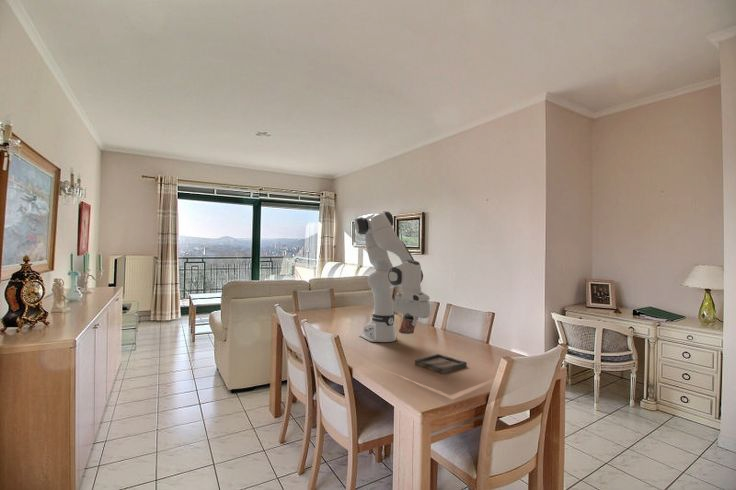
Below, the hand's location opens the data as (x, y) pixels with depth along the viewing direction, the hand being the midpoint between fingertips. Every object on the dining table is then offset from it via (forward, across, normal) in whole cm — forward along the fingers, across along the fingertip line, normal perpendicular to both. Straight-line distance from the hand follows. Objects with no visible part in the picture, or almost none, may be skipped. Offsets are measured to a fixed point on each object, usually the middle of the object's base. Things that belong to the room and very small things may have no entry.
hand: (410, 324), depth 164 cm
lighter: (+4, -3, 0) cm, 5 cm away
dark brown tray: (+16, +14, +6) cm, 22 cm away
